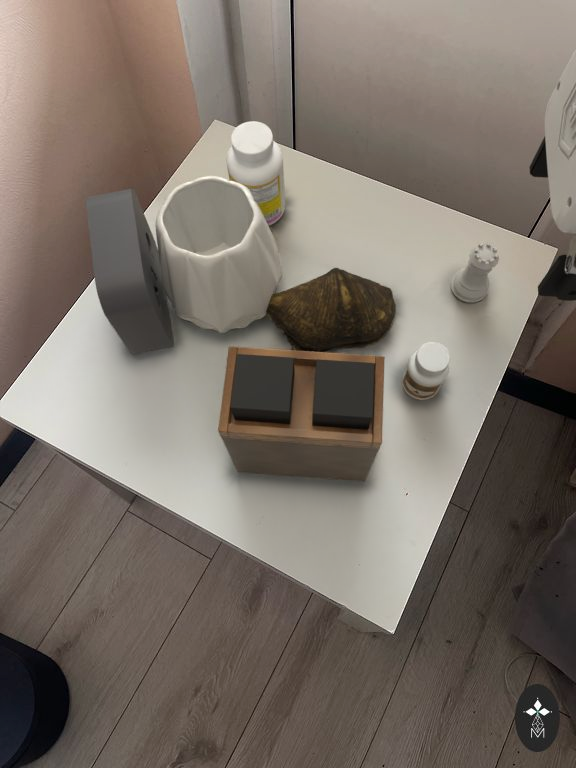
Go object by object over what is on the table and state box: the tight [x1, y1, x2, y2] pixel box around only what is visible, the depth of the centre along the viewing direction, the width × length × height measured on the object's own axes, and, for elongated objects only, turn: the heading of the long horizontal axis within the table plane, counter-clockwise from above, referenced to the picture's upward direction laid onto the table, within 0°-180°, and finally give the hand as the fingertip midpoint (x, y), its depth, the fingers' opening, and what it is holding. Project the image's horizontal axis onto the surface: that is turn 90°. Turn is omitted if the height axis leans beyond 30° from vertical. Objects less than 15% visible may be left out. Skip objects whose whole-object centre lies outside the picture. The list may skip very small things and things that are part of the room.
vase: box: [154, 175, 283, 334], centre depth 68 cm, size 14×14×15 cm
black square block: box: [312, 359, 375, 430], centre depth 53 cm, size 5×5×4 cm
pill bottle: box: [401, 341, 451, 401], centre depth 67 cm, size 4×4×8 cm
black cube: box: [230, 354, 295, 424], centre depth 54 cm, size 5×5×4 cm
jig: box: [217, 345, 385, 482], centre depth 61 cm, size 14×8×16 cm, turn 85°
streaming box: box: [85, 188, 175, 355], centre depth 69 cm, size 14×14×5 cm
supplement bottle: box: [225, 120, 286, 227], centre depth 74 cm, size 7×7×13 cm
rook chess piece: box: [450, 242, 500, 303], centre depth 71 cm, size 4×4×8 cm
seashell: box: [266, 267, 397, 353], centre depth 71 cm, size 16×9×7 cm, turn 98°
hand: (555, 231), depth 42 cm, fingers open, 9 cm apart
